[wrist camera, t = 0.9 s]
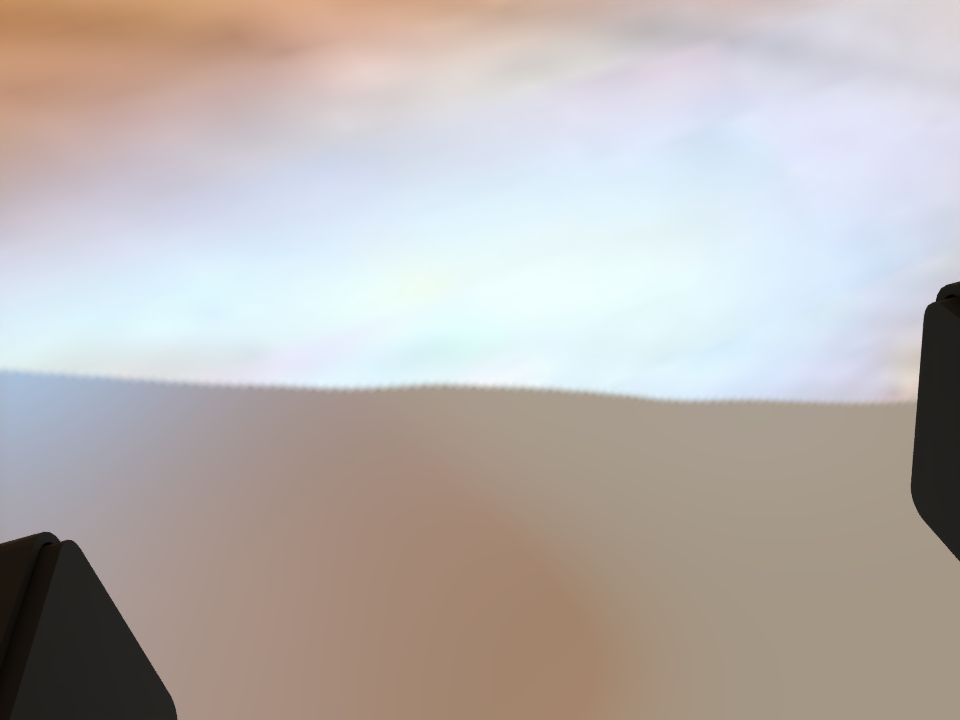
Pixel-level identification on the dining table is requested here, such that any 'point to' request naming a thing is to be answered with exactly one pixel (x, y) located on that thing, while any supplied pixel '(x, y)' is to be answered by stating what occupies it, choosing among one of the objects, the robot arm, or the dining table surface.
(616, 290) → the dining table surface
